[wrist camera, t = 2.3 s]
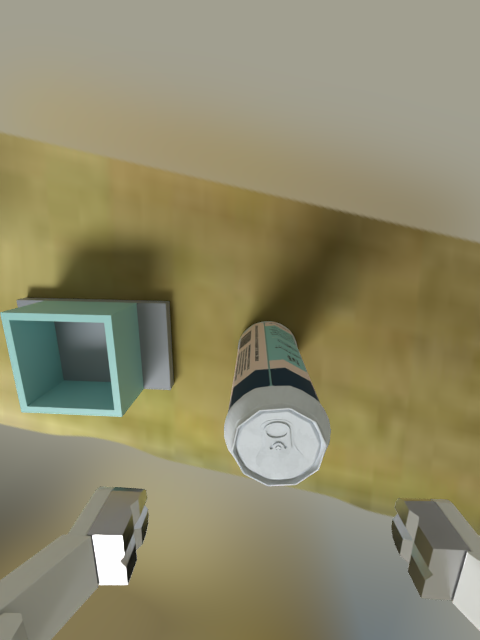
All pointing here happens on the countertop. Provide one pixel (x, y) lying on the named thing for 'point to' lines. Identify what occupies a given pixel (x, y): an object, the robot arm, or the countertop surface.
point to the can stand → (87, 353)
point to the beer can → (274, 409)
